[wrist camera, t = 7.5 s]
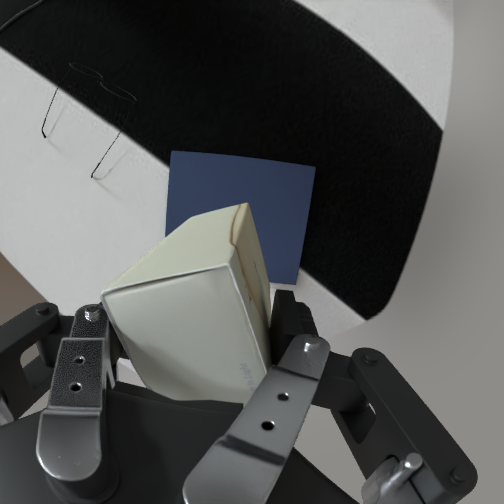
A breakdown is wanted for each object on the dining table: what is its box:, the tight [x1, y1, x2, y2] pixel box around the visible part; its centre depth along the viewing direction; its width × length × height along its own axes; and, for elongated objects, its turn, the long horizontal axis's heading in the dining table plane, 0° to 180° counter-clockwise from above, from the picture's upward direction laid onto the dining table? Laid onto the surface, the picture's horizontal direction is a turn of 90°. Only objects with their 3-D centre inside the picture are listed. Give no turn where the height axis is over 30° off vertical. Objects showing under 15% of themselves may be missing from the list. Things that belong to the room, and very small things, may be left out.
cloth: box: [165, 151, 316, 285], centre depth 32 cm, size 16×14×1 cm
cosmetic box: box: [100, 203, 272, 408], centre depth 14 cm, size 6×4×12 cm
